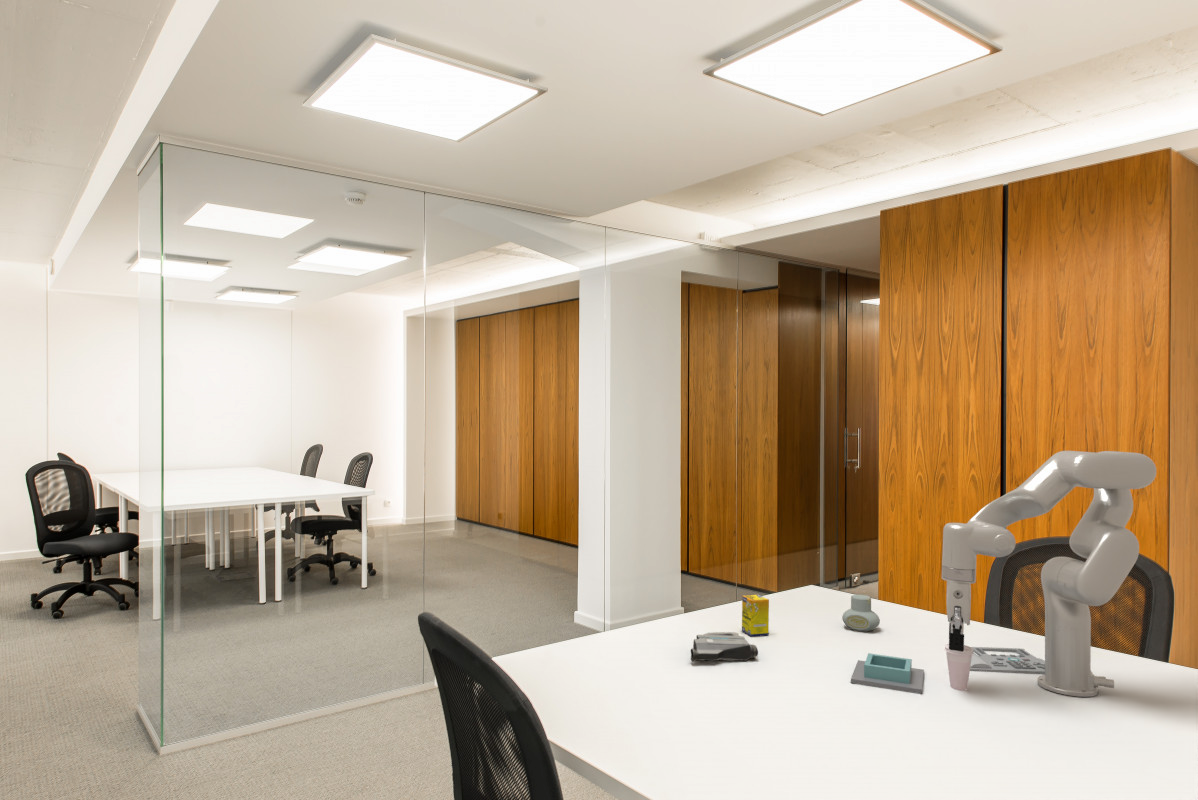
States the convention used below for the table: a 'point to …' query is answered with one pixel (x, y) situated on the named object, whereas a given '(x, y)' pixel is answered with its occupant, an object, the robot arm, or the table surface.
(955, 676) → the smoothie
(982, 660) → the office telephone
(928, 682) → the table surface
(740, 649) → the camcorder
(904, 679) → the mount
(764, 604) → the supplement box
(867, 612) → the air freshener
